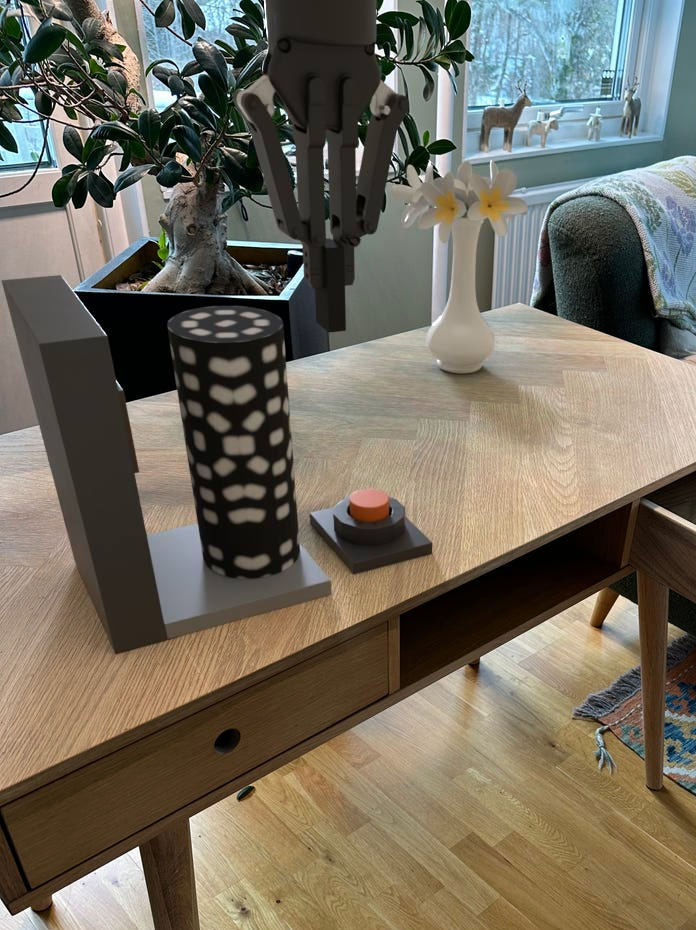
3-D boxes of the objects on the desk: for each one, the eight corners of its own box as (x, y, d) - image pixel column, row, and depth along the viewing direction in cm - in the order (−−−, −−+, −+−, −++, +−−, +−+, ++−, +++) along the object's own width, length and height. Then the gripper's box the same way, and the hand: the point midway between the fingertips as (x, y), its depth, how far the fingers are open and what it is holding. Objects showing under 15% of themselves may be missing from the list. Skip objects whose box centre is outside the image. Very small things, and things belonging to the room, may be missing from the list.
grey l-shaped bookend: (75, 565, 77) (1, 280, 62) (272, 520, 85) (247, 258, 70) (115, 654, 68) (38, 343, 53) (331, 594, 76) (316, 310, 61)
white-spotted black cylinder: (249, 519, 82) (224, 299, 70) (319, 547, 79) (306, 321, 67) (182, 558, 76) (142, 324, 64) (255, 590, 73) (227, 351, 61)
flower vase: (422, 338, 128) (426, 144, 113) (535, 367, 122) (555, 164, 106) (370, 363, 119) (367, 155, 104) (489, 396, 112) (503, 179, 97)
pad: (309, 523, 85) (307, 495, 83) (384, 506, 88) (384, 479, 87) (353, 574, 78) (352, 546, 77) (432, 553, 82) (433, 525, 80)
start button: (343, 510, 82) (343, 493, 81) (378, 502, 84) (378, 485, 83) (360, 527, 80) (359, 510, 79) (395, 519, 81) (395, 502, 80)
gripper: (383, -26, 64) (381, 305, 78) (205, -40, 58) (239, 320, 73) (432, -19, 59) (421, 332, 74) (243, -34, 53) (272, 351, 68)
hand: (331, 326), depth 73 cm, fingers closed
